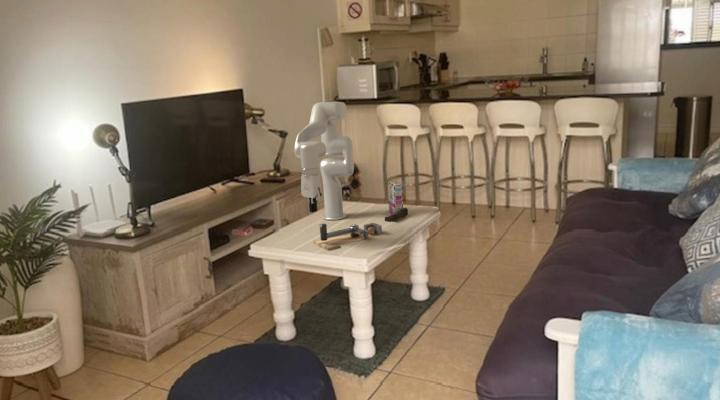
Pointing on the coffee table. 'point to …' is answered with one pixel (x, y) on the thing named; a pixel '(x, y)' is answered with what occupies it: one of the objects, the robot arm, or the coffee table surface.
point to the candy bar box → (395, 197)
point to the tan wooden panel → (347, 238)
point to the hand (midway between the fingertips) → (313, 211)
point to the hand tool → (397, 215)
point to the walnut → (371, 230)
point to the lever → (342, 232)
